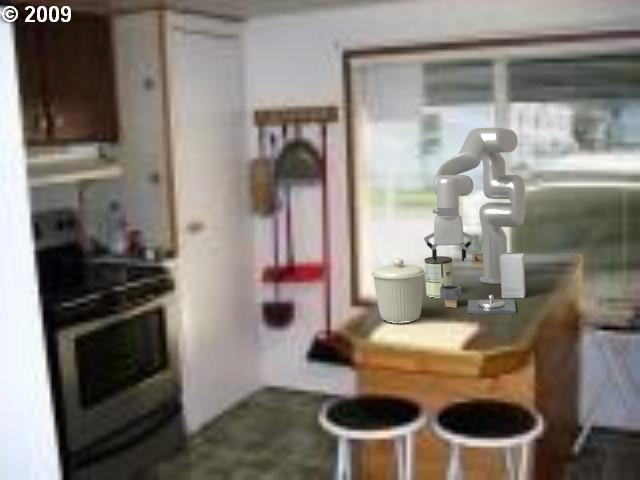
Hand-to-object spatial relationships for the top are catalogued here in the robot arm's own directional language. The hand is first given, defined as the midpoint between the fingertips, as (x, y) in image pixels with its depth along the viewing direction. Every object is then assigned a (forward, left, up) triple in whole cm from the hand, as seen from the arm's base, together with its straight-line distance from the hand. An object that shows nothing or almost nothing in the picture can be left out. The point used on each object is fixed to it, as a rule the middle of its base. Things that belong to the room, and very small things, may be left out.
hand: (449, 260), depth 280 cm
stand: (0, 0, -16) cm, 16 cm away
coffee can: (-16, -5, -17) cm, 24 cm away
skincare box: (-13, +22, -17) cm, 31 cm away
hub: (+4, +14, -16) cm, 22 cm away
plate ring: (0, 0, -13) cm, 13 cm away
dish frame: (-76, +16, -16) cm, 80 cm away
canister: (+20, -16, -17) cm, 30 cm away
